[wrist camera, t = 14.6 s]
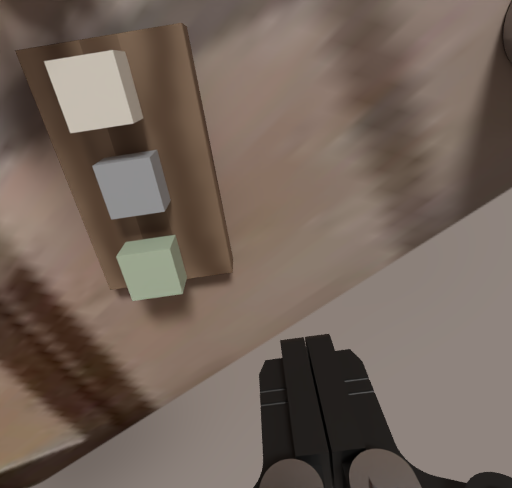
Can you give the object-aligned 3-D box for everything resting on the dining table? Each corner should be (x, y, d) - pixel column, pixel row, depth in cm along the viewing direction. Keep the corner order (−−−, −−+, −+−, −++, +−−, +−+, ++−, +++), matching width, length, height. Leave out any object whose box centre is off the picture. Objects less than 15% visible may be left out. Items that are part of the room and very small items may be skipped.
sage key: (179, 223, 37) (169, 248, 32) (190, 264, 39) (182, 293, 34) (133, 230, 37) (115, 256, 32) (146, 270, 40) (132, 300, 35)
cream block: (134, 52, 30) (112, 50, 25) (150, 114, 32) (133, 123, 27) (77, 62, 30) (43, 61, 25) (97, 122, 32) (70, 133, 27)
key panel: (186, 26, 31) (181, 22, 29) (233, 259, 42) (232, 272, 40) (34, 51, 32) (15, 50, 29) (118, 275, 43) (110, 289, 40)
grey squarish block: (163, 143, 35) (149, 157, 30) (175, 191, 37) (164, 211, 32) (113, 151, 35) (92, 166, 30) (129, 198, 37) (111, 219, 32)
